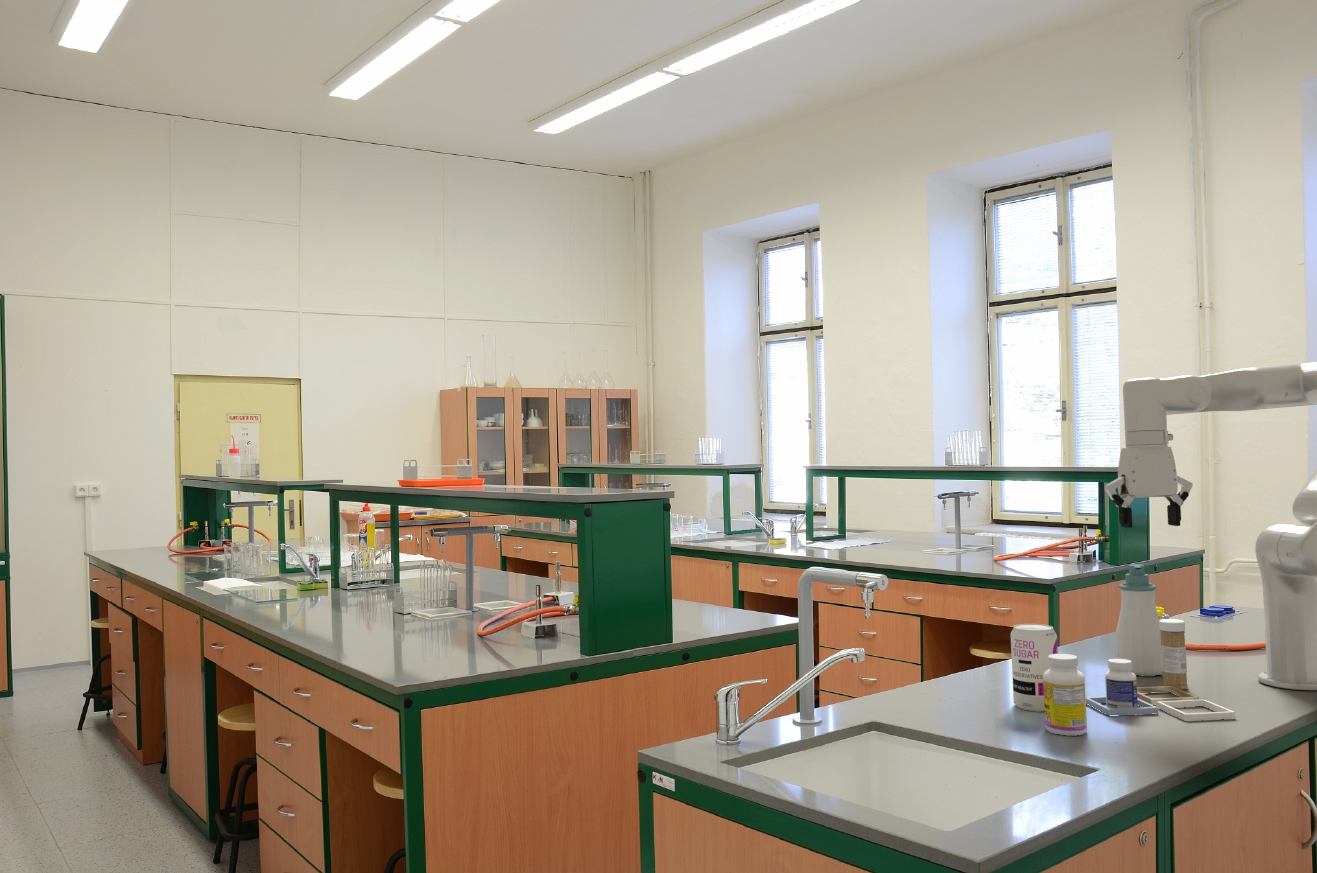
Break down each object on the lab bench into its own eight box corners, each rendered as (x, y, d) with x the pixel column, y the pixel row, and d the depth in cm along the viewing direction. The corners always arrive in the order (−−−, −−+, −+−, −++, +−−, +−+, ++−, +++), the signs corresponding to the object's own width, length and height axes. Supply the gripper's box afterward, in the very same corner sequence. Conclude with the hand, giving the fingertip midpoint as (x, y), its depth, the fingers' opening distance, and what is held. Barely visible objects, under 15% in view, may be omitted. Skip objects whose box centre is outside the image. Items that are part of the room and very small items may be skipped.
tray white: (1204, 705, 177) (1203, 699, 177) (1235, 719, 168) (1235, 712, 168) (1156, 708, 176) (1156, 701, 177) (1185, 721, 168) (1185, 714, 168)
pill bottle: (1141, 713, 174) (1139, 664, 174) (1110, 712, 175) (1108, 663, 175) (1133, 705, 179) (1131, 657, 179) (1103, 705, 180) (1100, 657, 180)
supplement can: (1058, 702, 183) (1055, 623, 183) (1061, 714, 175) (1057, 631, 175) (1013, 700, 185) (1009, 622, 186) (1014, 711, 178) (1010, 630, 178)
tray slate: (1131, 701, 181) (1131, 695, 181) (1158, 714, 172) (1158, 707, 172) (1085, 704, 181) (1084, 697, 181) (1109, 716, 172) (1109, 710, 172)
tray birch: (1171, 692, 187) (1171, 686, 187) (1199, 703, 178) (1199, 697, 178) (1126, 694, 187) (1126, 688, 187) (1152, 706, 178) (1151, 699, 178)
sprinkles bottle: (1173, 684, 193) (1170, 617, 194) (1193, 689, 189) (1190, 620, 189) (1156, 687, 192) (1153, 619, 192) (1176, 691, 188) (1172, 623, 188)
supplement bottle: (1048, 724, 169) (1045, 651, 169) (1089, 728, 165) (1086, 654, 166) (1042, 734, 163) (1039, 658, 163) (1084, 739, 159) (1081, 661, 160)
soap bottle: (1117, 676, 202) (1112, 567, 202) (1114, 666, 211) (1109, 562, 211) (1170, 678, 198) (1164, 568, 199) (1164, 668, 207) (1159, 562, 208)
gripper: (1177, 439, 195) (1181, 523, 194) (1094, 442, 194) (1098, 526, 193) (1200, 438, 187) (1204, 526, 187) (1113, 441, 186) (1117, 529, 186)
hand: (1150, 526), depth 190 cm, fingers open, 9 cm apart
